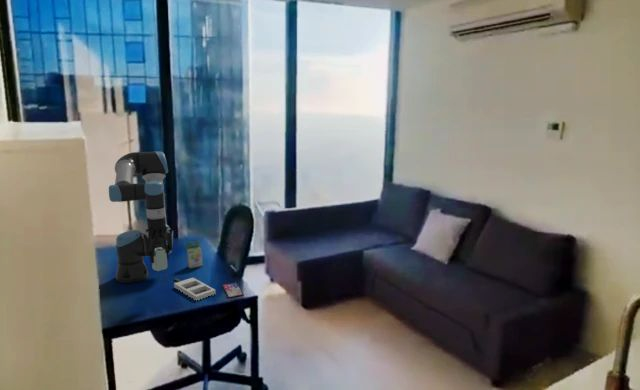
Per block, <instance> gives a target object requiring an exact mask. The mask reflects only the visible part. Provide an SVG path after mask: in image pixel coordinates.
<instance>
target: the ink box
mask: <svg viewBox="0 0 640 390" xmlns="http://www.w3.org/2000/svg"><path fill="white" fill-rule="evenodd" d="M192 244H193V245H192ZM202 253H203V252H202V247H200V240H195V241H190V242H186V254H187V255H186V256H187V257H186V258H187V267H188V268H189V269H195V268H199V267H203V264H204V263H203V254H202Z"/></svg>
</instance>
